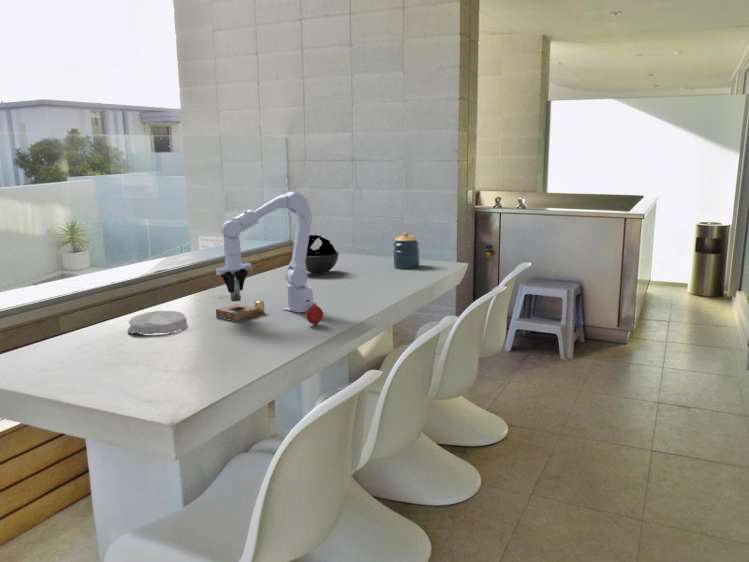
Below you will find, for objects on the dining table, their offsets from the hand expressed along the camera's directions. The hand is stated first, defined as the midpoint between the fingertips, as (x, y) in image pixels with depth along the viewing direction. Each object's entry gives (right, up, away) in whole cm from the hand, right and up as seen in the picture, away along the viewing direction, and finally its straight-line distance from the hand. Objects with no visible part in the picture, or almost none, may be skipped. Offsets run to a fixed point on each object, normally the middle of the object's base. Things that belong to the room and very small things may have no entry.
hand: (235, 291), depth 240 cm
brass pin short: (+8, -8, +6) cm, 13 cm away
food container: (-25, -13, -10) cm, 30 cm away
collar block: (0, -9, +2) cm, 10 cm away
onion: (+30, -12, -14) cm, 35 cm away
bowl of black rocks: (+24, +7, +80) cm, 83 cm away
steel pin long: (0, -3, +1) cm, 3 cm away
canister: (+67, +10, +89) cm, 112 cm away
